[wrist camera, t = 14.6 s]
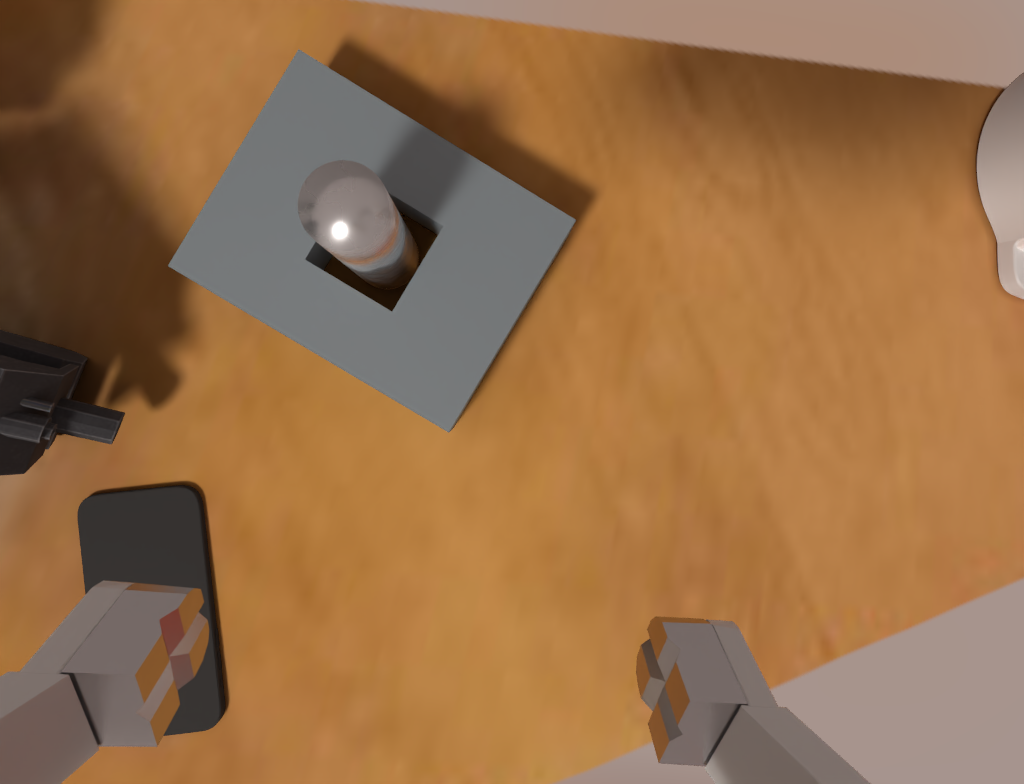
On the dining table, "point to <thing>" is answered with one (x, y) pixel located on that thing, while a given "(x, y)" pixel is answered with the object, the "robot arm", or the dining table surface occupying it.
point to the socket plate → (416, 193)
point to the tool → (43, 402)
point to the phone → (158, 572)
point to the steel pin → (358, 223)
